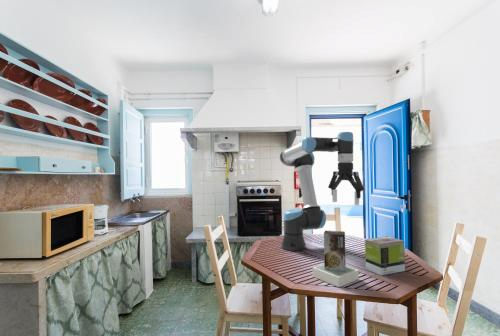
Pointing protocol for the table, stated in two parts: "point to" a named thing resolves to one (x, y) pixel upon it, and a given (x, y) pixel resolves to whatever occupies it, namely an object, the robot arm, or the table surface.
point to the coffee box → (334, 250)
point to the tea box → (385, 255)
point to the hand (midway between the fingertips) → (345, 203)
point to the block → (336, 275)
